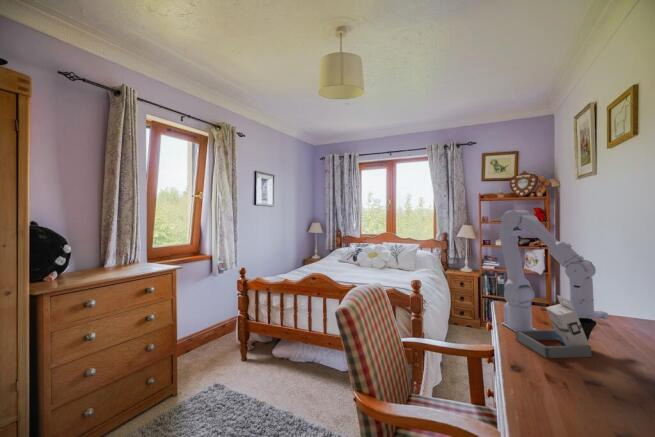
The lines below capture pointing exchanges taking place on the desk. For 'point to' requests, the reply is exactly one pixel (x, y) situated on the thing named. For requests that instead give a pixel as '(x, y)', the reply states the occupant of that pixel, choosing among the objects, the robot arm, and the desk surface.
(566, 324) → the ink box
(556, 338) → the frame
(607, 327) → the desk surface
